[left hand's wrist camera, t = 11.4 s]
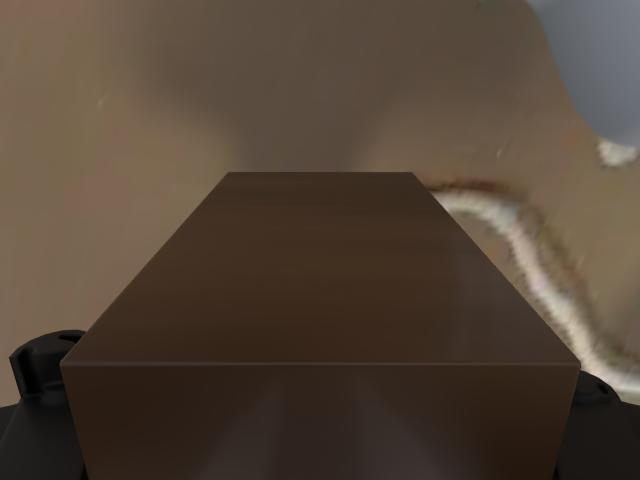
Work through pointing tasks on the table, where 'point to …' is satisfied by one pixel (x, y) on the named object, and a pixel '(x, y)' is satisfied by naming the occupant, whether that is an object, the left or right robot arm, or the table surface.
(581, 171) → the table surface
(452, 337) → the bar
